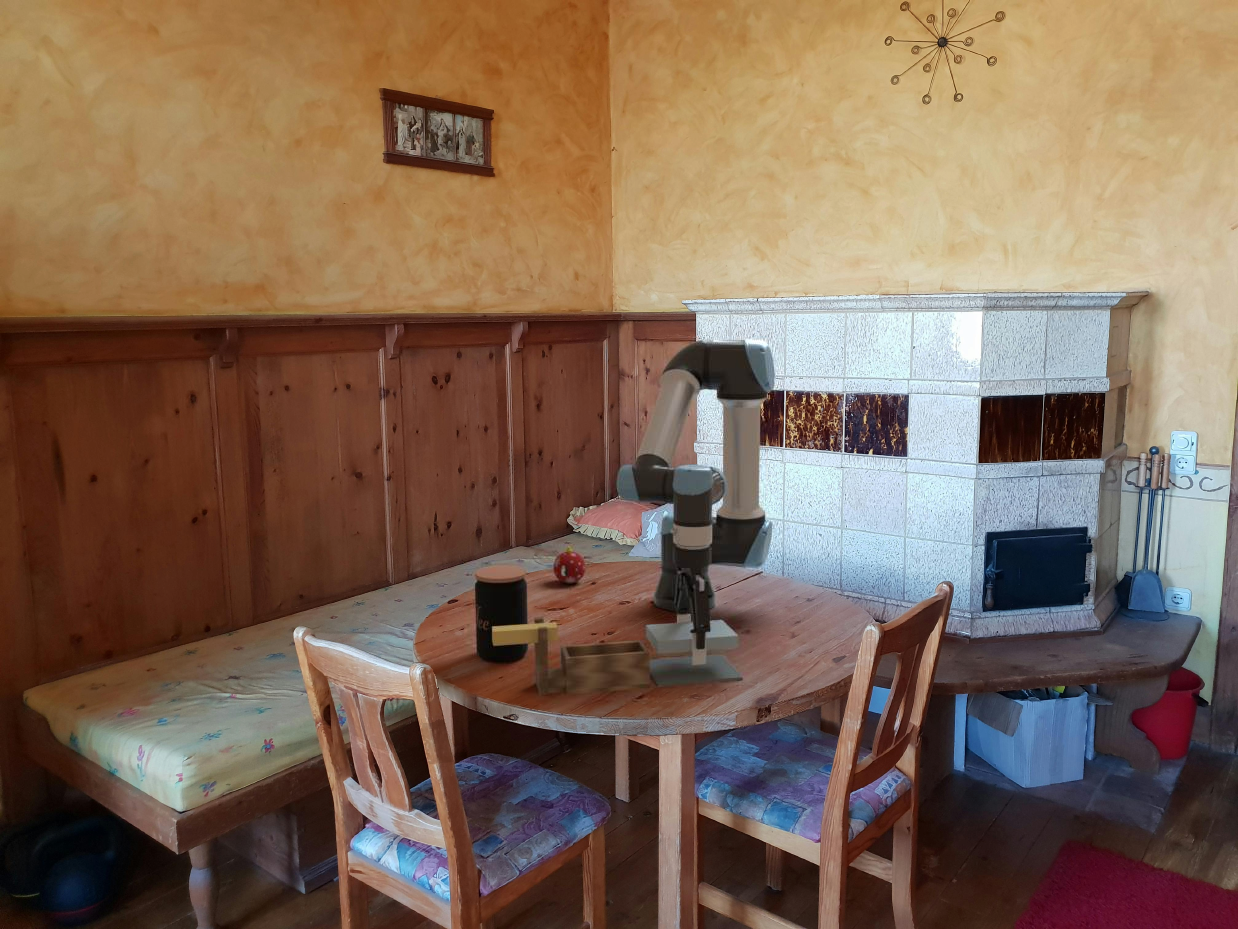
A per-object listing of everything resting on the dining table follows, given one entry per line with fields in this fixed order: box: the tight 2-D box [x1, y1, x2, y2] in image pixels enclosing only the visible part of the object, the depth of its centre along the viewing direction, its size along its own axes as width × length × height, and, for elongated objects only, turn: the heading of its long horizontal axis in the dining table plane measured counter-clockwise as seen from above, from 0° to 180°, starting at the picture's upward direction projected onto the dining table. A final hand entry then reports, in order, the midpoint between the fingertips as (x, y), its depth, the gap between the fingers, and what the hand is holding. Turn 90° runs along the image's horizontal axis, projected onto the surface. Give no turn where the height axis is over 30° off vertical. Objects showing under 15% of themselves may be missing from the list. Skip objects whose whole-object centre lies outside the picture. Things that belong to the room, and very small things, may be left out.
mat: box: [650, 653, 744, 688], centre depth 185 cm, size 17×13×1 cm
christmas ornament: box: [552, 546, 587, 585], centre depth 248 cm, size 9×9×10 cm
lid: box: [645, 619, 739, 657], centre depth 184 cm, size 16×10×4 cm, turn 102°
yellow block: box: [492, 621, 559, 646], centre depth 174 cm, size 12×3×3 cm, turn 102°
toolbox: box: [533, 617, 651, 698], centre depth 177 cm, size 21×7×13 cm, turn 102°
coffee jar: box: [474, 564, 529, 664], centre depth 193 cm, size 11×11×18 cm
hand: (691, 654), depth 185 cm, fingers closed on lid, 10 cm apart
